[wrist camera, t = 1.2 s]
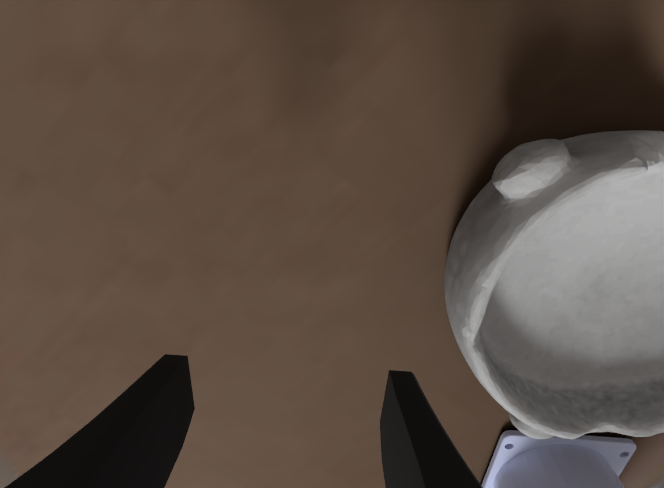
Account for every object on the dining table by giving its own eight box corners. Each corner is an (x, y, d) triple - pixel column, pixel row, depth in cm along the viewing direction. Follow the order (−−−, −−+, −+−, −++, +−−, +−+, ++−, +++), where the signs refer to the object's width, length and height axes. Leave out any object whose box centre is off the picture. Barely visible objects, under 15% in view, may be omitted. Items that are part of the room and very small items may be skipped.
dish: (433, 133, 16) (468, 164, 11) (798, 89, 15) (996, 104, 10) (435, 386, 22) (458, 470, 18) (690, 369, 21) (783, 454, 17)
